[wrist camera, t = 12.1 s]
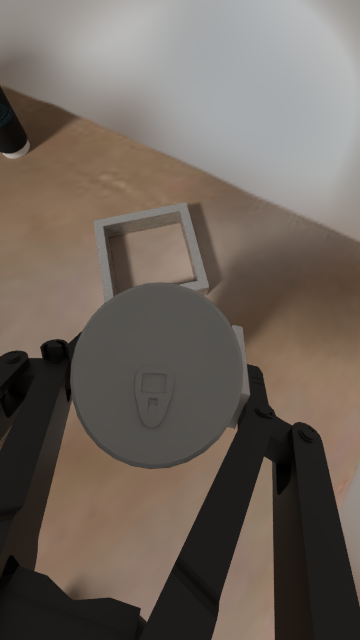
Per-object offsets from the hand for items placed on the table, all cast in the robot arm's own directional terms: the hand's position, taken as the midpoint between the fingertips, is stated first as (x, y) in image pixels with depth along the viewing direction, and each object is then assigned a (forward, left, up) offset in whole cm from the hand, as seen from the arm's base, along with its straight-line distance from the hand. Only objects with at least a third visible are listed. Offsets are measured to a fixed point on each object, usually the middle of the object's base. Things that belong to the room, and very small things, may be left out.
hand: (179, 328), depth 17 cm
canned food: (+3, -1, -4) cm, 5 cm away
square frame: (-13, -2, -12) cm, 18 cm away
